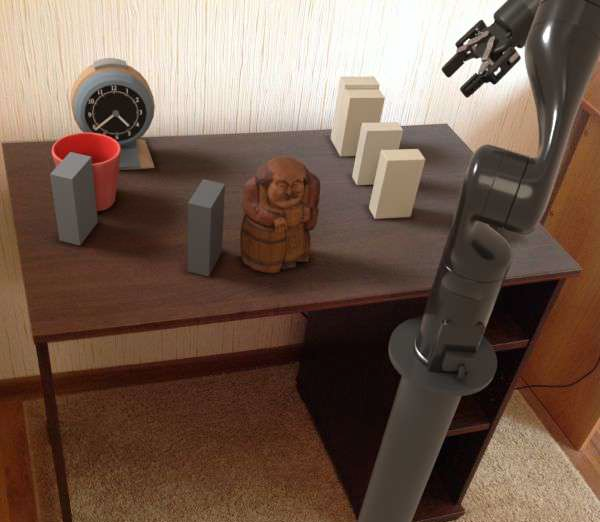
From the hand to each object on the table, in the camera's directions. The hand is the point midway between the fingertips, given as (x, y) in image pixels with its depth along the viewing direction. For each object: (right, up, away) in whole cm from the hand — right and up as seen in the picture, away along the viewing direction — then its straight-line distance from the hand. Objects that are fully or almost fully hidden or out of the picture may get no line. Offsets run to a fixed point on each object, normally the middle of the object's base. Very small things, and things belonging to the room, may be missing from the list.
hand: (453, 83), depth 133 cm
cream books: (-14, -12, +13) cm, 23 cm away
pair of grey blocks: (-53, -31, -11) cm, 62 cm away
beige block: (-13, -14, +12) cm, 22 cm away
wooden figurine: (-31, -33, -9) cm, 46 cm away
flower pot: (-63, -22, -3) cm, 67 cm away
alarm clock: (-61, -11, +7) cm, 63 cm away
